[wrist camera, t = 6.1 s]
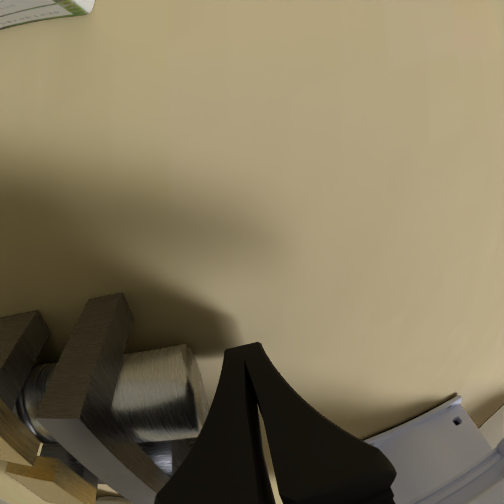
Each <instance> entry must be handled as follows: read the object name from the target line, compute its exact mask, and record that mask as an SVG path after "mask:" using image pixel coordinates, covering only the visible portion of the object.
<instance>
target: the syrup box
mask: <svg viewBox="0 0 504 504" xmlns="http://www.w3.org/2000/svg"><path fill="white" fill-rule="evenodd" d="M94 2H95V0H0V29H4V28H8V27H11V26H16V25H21V24H25V23H29V22H35V21H41V20H46V19H53V18H60V17H69V16H78V15H86V14H89V13H90V12H91V10H92V8H93V5H94Z"/></svg>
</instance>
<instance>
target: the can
mask: <svg viewBox="0 0 504 504" xmlns="http://www.w3.org/2000/svg"><path fill="white" fill-rule="evenodd" d="M95 504H133V503H132V502H130V501H129V500H127V499H126V498H122V497H113V496H104V497H99V498H98V499H97V500H96V501H95Z"/></svg>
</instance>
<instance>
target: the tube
mask: <svg viewBox="0 0 504 504" xmlns="http://www.w3.org/2000/svg"><path fill="white" fill-rule="evenodd" d="M56 365H57V363H50V364H45V363H42V362H36V363H34V365H33V367H32V369H31V371H30V373H29V375H28V377H27V379H26V381H25V383H24V385H23V387H22V389H21V391H20V394H19V396H18V398H17V400H16V402H15V405H14V407H13V409H12V412H13V413H14V415H15V416H16V417H17V418H18V419H19V420H20V421H21V422H22V423H23V424H24V426H25V427H26V428H27V429H28V430H29V431H30V432H31V433H32V434H33V435H34V436H35V437H36V438H37V439H38V440H39V441H40V443H48V444H56V443H58V442H57V441H56V440H55V439H54V438H53V437H52V436H51V435H50V434H49V433H48V431H47V430H46V429H45V428H44V427H43V426H42V425H41V424H40V423H39V422H38V421H37V420H36V419H35V417H36V414H37V411H38V409H39V406H40V404H41V401H42V398H43V396H44V393H45V391H46V389H47V386H48V384H49V381H50V379H51V377H52V374H53V372H54V370H55V368H56ZM111 413H112V414H113V415H114V417H115V418H116V419H117V420H118V422H119V423H120V424H121V425H122V427H123V428H124V429H125V430H126V431H127V433H128V434H129V435H130V436H131V437H132V438H133V440H134V441H135V442H136V443H141V442H156V441H167V440H177V439H186V438H194V437H198V435H199V433H200V431H201V429H202V427H203V425H204V422H205V420H206V418H207V415H208V413H209V412H208V405H207V399H206V394H205V389H204V385H203V381H202V377H201V374H200V370H199V367H198V364H197V362H196V359H195V357H194V354H193V352H192V351H191V349H190V347H189V346H188V345H186V344H183V345H177V346H172V347H166V348H160V349H155V350H149V351H143V352H136V353H130V354H124V355H123V359H122V363H121V367H120V371H119V375H118V380H117V384H116V388H115V393H114V397H113V402H112V407H111Z"/></svg>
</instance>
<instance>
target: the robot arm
mask: <svg viewBox="0 0 504 504" xmlns="http://www.w3.org/2000/svg"><path fill="white" fill-rule="evenodd" d="M461 401H462V397H461V396H460V395H458V396H456V397H454V398H453V399H451V400H449V401H447V402H445V403H444V404H442V405H440V406H438V407H436V408H434V409H432V410H431V411H429V412H427V413H425V414H423V415H421V416H419V417H417V418H415V419H413V420H410V421H408V422H406V423H404V424H402V425H400V426H397V427H395V428H393V429H391V430H388V431H386V432H384V433H381V434H379V435H376V436H374V437H371V438H369V439H366V440H364V441H362V440H360V439H358V438H356V437H355V436H353V435H351V434H350V433H348V432H346V431H344V430H343V429H341V428H340V427H338V426H337V425H335V424H334V423H332V422H331V421H330V420H328V419H327V418H325V417H324V416H323V415H321V414H320V413H319V412H318V411H316V410H315V409H314V408H313V407H312V406H310V405H309V404H308V403H307V402H306V401H305V400H304V399H303V398H302V397H301V396H300V395H299V394H297V392H296V391H295V390H294V389H293V388H292V387H291V386H290V385H289V384H288V383H287V382H286V381H285V379H284V378H283V377H282V376H281V374H280V373H279V372H278V371H277V369H276V368H275V367H274V365H273V364H272V362H271V361H270V359H269V358H268V356H267V355H266V353H265V351H264V349H263V347H262V344H261V343H259V342H255V343H251V344H247V345H242V346H238V347H234V348H229V349H226V350H225V352H224V360H223V366H222V371H221V375H220V379H219V383H218V387H217V390H216V393H215V396H214V399H213V402H212V405H211V408H210V411H209V413H208V415H207V418H206V420H205V422H204V425H203V427H202V429H201V431H200V433H199V435H198V437H197V439H196V440H195V442H194V444H193V446H192V448H191V449H190V451H189V453H188V454H187V456H186V457H185V459H184V460H183V462H182V463H181V465H180V466H179V467H178V469H177V470H176V472H175V473H174V474H173V476H172V477H171V478H170V479H169V480H168V482H167V483H166V484H165V485H164V486H163V488H162V489H161V490H160V491H159V492H158V493H157V494H156V497H155V501H154V504H276V503H275V499H274V495H273V491H272V488H271V484H270V480H269V475H268V471H267V467H266V463H265V459H264V453H263V447H262V439H261V431H260V422H259V414H258V406H259V409H260V412H261V415H262V418H263V421H264V425H265V430H266V434H267V439H268V444H269V448H270V453H271V458H272V462H273V467H274V472H275V476H276V481H277V486H278V491H279V495H280V497H281V500H282V502H283V504H504V437H503V438H502V440H501V441H500V442H499V443H498V445H497V447H496V448H494V449H492V448H491V446H490V445H489V443H488V442H487V440H486V439H485V437H484V436H483V435H482V433H481V432H480V430H479V429H478V428H477V426H476V425H475V423H474V422H473V421H472V419H471V418H470V417H469V415H468V414H467V413H466V411H465V410H464V409H463V407H462V406H461V405H460V403H461ZM257 404H258V406H257Z"/></svg>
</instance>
